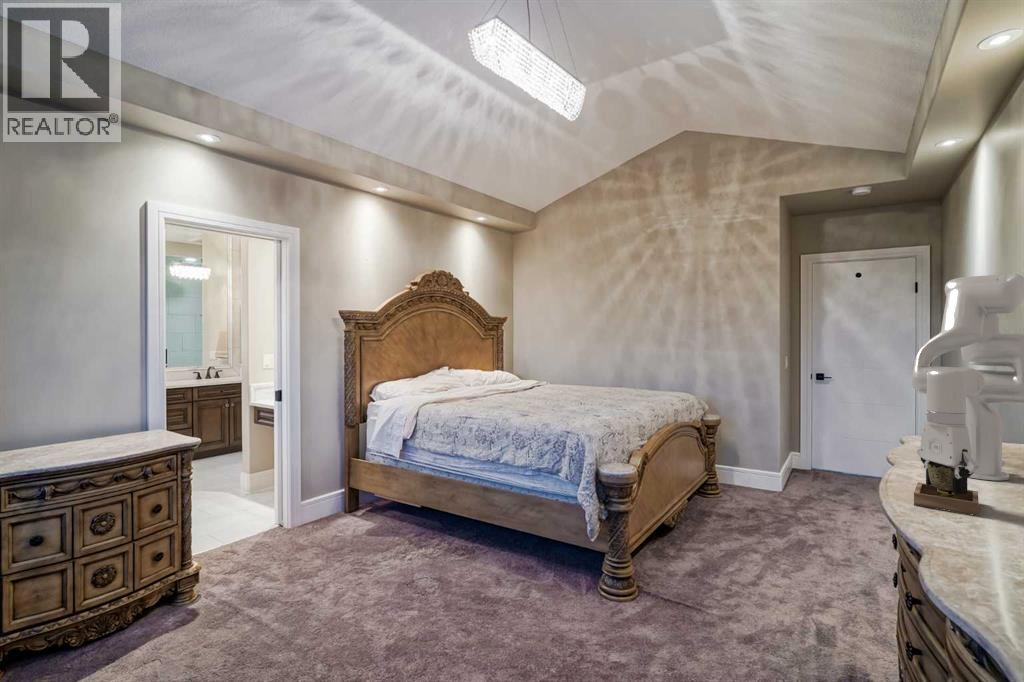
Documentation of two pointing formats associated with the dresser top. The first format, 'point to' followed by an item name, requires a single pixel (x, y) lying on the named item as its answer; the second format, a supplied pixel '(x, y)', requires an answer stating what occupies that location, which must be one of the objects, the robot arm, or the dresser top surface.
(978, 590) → the dresser top surface
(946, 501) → the box
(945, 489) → the olive round vessel
